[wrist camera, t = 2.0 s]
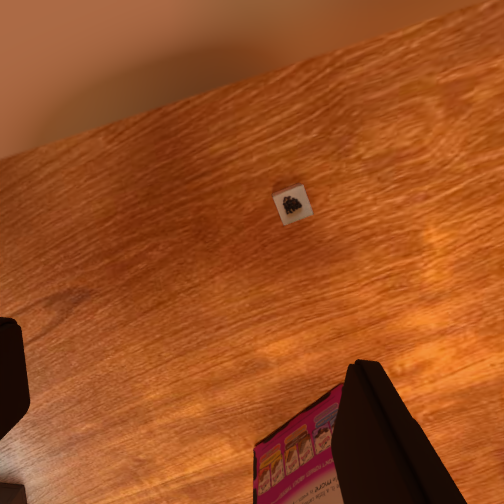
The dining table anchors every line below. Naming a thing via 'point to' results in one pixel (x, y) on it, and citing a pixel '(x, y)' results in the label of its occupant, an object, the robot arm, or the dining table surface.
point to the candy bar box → (300, 459)
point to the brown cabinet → (12, 494)
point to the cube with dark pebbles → (292, 203)
